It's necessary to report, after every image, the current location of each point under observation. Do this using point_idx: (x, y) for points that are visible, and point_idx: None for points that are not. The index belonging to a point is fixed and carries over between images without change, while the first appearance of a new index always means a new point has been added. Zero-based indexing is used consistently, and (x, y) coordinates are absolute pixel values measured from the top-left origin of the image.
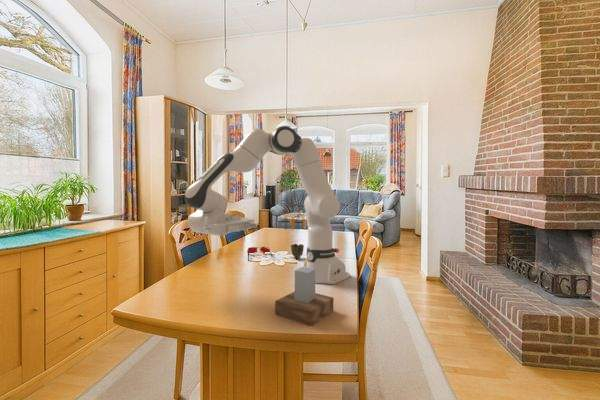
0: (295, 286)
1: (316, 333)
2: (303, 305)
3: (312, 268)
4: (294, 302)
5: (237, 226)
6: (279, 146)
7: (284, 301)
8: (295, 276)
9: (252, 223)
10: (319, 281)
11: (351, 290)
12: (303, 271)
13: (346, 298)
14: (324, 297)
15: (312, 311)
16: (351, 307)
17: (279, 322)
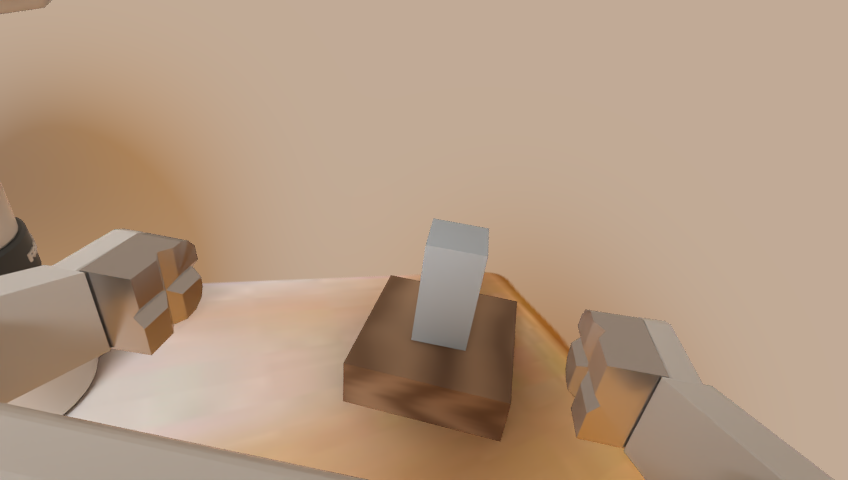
0: (475, 307)
1: (534, 319)
2: (491, 322)
3: (433, 223)
4: (484, 347)
5: (644, 338)
6: None
7: (496, 374)
8: (483, 275)
9: (115, 268)
10: (89, 371)
11: None
12: (481, 237)
13: (278, 291)
14: (399, 291)
15: (510, 301)
16: (348, 279)
17: (543, 407)
